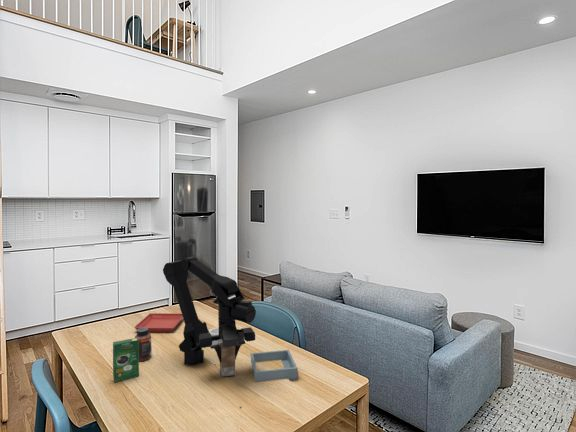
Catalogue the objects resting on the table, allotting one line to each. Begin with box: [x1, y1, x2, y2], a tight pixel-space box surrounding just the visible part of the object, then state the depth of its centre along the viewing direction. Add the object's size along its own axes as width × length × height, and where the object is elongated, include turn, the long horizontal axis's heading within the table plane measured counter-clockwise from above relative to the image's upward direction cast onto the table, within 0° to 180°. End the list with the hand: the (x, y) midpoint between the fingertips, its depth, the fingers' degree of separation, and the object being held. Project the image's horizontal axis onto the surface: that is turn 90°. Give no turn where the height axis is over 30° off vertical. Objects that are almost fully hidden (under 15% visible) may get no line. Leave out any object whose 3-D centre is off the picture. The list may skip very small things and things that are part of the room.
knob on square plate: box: [219, 369, 237, 379], centre depth 124 cm, size 5×5×3 cm
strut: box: [219, 342, 236, 377], centre depth 124 cm, size 4×4×10 cm
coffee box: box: [112, 337, 140, 383], centre depth 123 cm, size 8×3×13 cm, turn 123°
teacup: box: [208, 326, 222, 346], centre depth 150 cm, size 10×8×5 cm
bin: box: [250, 349, 299, 382], centre depth 128 cm, size 14×14×4 cm
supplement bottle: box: [134, 328, 153, 362], centre depth 137 cm, size 6×6×11 cm
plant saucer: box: [134, 312, 184, 333], centre depth 170 cm, size 18×18×3 cm
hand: (227, 361), depth 124 cm, fingers closed on strut, 4 cm apart
